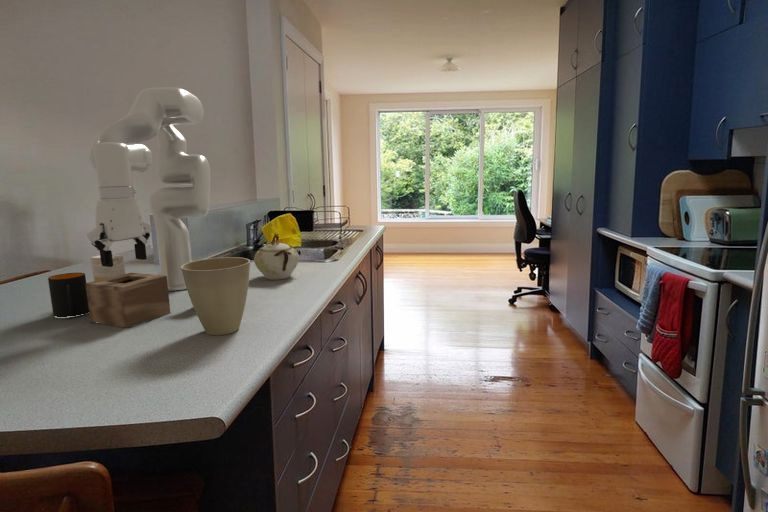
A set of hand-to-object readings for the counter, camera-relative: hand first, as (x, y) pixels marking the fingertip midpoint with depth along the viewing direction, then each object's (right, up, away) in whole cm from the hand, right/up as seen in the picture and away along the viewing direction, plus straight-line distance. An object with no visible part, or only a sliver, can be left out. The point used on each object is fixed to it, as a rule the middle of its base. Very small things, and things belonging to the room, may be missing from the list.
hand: (125, 262), depth 125 cm
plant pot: (+27, -16, -10) cm, 33 cm away
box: (0, -14, +2) cm, 14 cm away
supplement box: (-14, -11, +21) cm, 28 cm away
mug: (-17, -14, +6) cm, 23 cm away
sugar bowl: (+29, -6, +46) cm, 55 cm away
